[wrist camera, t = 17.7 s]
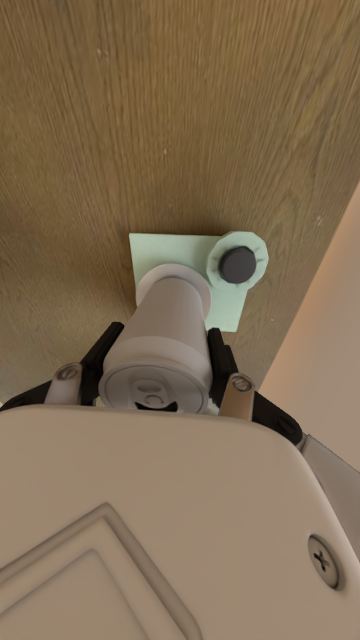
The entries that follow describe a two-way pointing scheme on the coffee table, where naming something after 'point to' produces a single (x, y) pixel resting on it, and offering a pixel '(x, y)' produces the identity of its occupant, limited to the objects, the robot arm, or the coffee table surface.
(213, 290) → the scale
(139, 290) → the plate
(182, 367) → the beverage can
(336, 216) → the coffee table surface
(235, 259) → the button
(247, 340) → the coffee table surface
